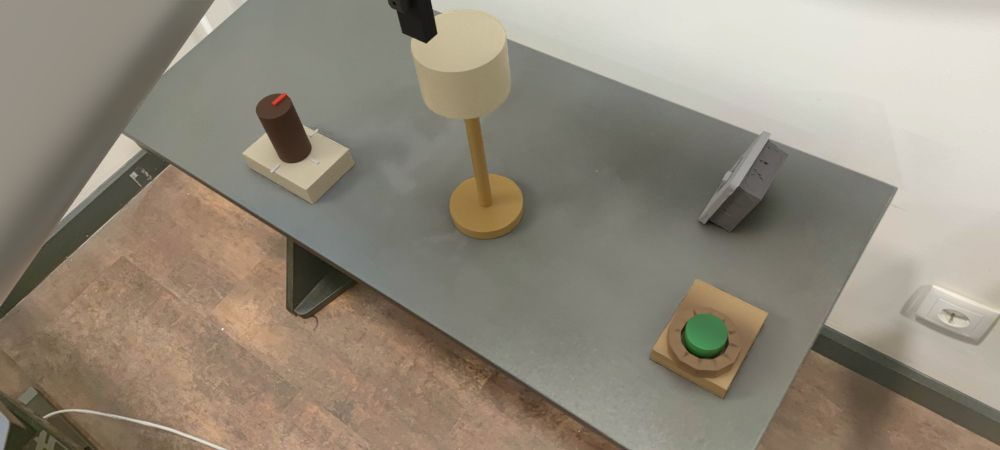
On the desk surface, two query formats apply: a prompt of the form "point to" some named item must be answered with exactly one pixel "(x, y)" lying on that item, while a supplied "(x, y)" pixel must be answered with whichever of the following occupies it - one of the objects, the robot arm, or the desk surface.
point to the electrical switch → (745, 183)
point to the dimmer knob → (283, 127)
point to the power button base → (741, 336)
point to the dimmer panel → (302, 165)
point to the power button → (705, 335)
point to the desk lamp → (471, 111)
